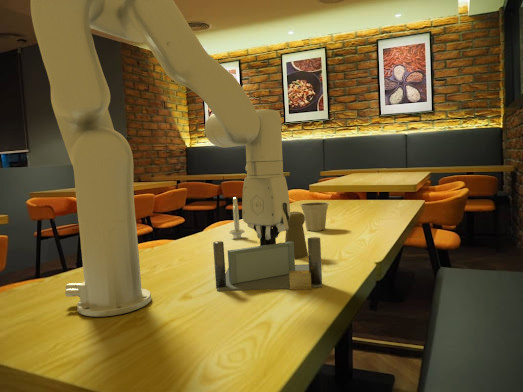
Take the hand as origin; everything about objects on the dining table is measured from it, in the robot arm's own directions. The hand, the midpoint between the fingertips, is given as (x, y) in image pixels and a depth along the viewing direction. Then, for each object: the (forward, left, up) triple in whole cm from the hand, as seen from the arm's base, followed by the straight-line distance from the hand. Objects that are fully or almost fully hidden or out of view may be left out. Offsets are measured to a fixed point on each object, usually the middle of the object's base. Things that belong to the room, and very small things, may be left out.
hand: (268, 256), depth 90 cm
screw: (-12, +42, -4) cm, 44 cm away
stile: (+7, -9, -4) cm, 12 cm away
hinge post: (-9, -8, -4) cm, 13 cm away
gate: (-1, -4, -3) cm, 5 cm away
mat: (0, -2, -4) cm, 4 cm away
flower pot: (+13, +51, -4) cm, 53 cm away
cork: (+6, +16, -4) cm, 18 cm away
